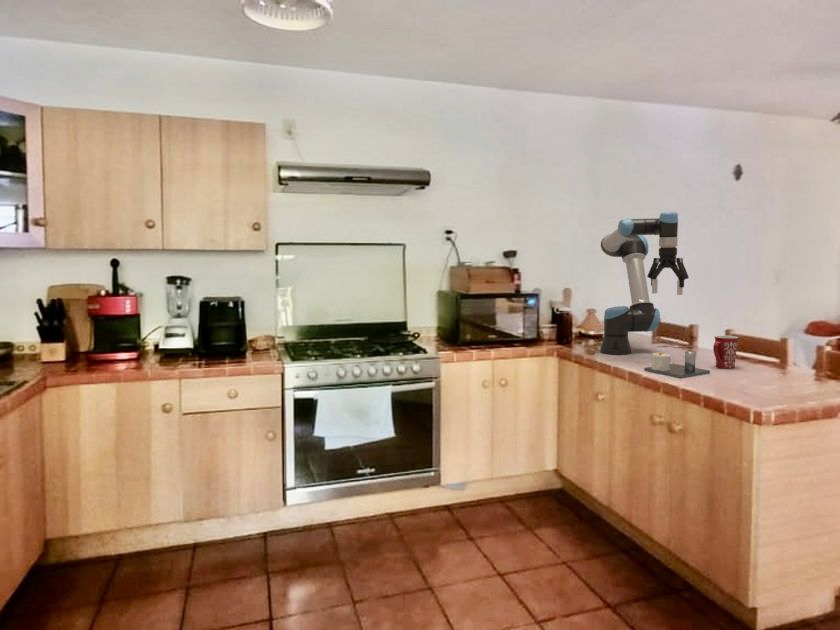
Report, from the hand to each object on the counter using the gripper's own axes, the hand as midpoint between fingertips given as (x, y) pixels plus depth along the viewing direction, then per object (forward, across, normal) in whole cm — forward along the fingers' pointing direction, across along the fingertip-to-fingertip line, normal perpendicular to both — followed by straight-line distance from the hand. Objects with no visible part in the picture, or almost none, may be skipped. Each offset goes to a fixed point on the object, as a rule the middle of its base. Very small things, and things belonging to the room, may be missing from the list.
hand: (666, 294), depth 252 cm
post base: (+32, +16, -12) cm, 37 cm away
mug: (+32, +20, +12) cm, 40 cm away
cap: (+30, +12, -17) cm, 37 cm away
